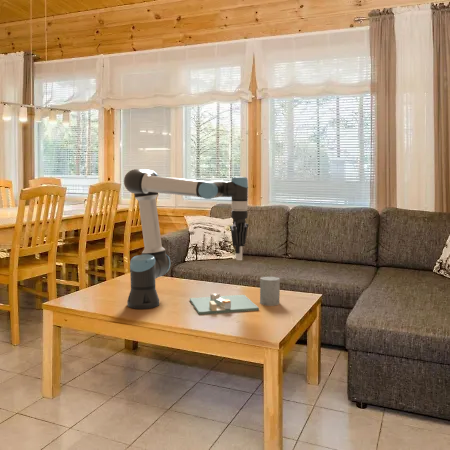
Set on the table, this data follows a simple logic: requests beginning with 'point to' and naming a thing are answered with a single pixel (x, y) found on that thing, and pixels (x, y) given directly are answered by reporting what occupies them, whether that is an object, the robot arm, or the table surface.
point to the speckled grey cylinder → (269, 290)
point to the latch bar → (220, 301)
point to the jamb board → (210, 307)
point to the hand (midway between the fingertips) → (239, 259)
